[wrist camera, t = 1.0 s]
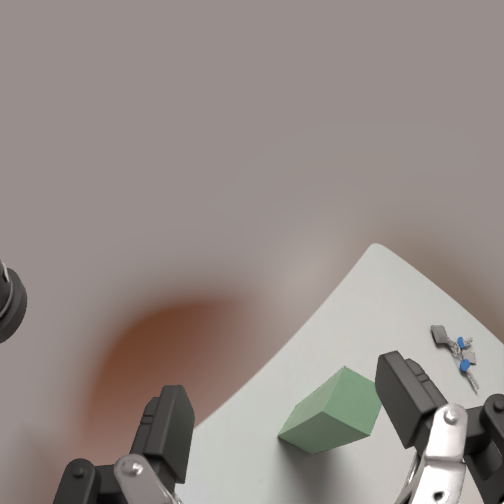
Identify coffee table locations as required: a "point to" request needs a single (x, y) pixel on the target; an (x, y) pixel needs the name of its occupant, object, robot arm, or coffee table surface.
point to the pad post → (334, 413)
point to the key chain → (468, 356)
